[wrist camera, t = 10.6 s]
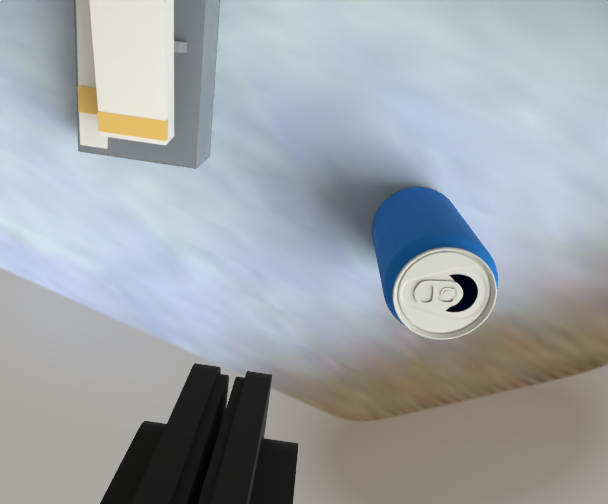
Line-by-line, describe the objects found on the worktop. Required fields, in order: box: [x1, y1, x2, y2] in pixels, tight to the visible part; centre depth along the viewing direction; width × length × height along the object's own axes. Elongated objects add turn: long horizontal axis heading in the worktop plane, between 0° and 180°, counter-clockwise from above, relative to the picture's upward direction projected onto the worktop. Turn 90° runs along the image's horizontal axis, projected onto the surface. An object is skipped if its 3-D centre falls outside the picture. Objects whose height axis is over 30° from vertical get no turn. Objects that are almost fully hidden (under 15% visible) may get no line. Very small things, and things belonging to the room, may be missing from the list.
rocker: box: [89, 0, 174, 145], centre depth 29 cm, size 4×11×2 cm, turn 172°
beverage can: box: [372, 187, 498, 340], centre depth 34 cm, size 6×6×12 cm
